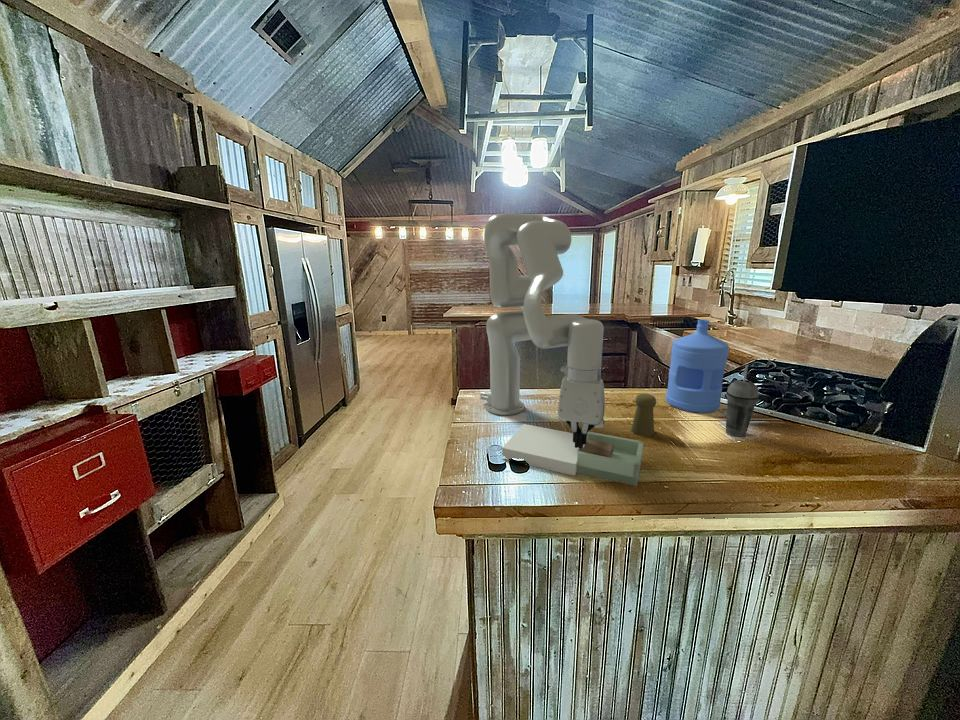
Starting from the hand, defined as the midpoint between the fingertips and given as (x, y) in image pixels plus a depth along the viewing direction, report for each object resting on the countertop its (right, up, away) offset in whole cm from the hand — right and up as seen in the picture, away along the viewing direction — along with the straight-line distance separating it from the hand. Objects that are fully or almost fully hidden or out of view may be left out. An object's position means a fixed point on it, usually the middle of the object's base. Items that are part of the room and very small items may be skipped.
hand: (579, 445), depth 92 cm
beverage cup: (+46, 0, +13) cm, 48 cm away
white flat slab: (-7, -3, +5) cm, 9 cm away
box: (+7, -4, -2) cm, 8 cm away
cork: (+22, 0, +15) cm, 26 cm away
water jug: (+46, +6, +33) cm, 57 cm away
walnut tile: (+4, -2, -2) cm, 5 cm away
